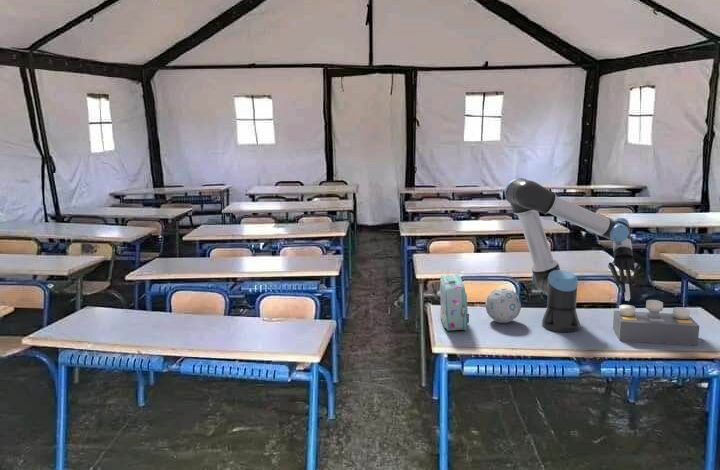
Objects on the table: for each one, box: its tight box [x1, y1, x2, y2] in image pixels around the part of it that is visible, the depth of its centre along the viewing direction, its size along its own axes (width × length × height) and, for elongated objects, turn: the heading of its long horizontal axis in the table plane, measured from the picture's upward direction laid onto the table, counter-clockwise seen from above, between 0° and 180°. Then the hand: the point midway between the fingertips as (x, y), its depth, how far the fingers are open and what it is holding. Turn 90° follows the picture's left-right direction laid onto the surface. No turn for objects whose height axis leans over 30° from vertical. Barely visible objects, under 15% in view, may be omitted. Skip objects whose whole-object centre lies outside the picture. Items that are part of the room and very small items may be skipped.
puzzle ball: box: [484, 287, 522, 324], centre depth 251 cm, size 15×15×15 cm
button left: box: [618, 304, 636, 317], centre depth 234 cm, size 6×6×8 cm
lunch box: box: [439, 273, 470, 332], centre depth 248 cm, size 27×10×21 cm, turn 179°
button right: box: [671, 306, 691, 320], centre depth 229 cm, size 6×6×8 cm
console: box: [612, 310, 700, 346], centre depth 230 cm, size 28×14×8 cm, turn 77°
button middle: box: [645, 299, 664, 318], centre depth 231 cm, size 6×6×8 cm
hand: (627, 299), depth 235 cm, fingers closed
